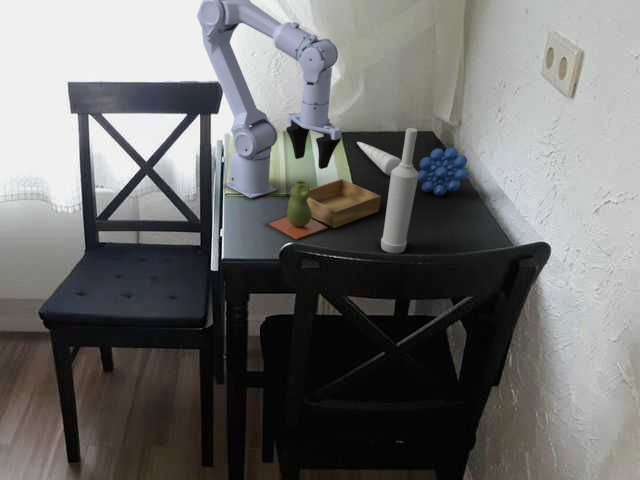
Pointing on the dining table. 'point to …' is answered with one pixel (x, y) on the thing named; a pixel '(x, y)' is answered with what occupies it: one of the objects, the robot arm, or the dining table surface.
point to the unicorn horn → (380, 158)
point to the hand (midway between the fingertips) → (311, 162)
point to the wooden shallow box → (341, 202)
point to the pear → (299, 205)
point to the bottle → (400, 198)
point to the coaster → (298, 228)
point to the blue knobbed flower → (442, 171)
